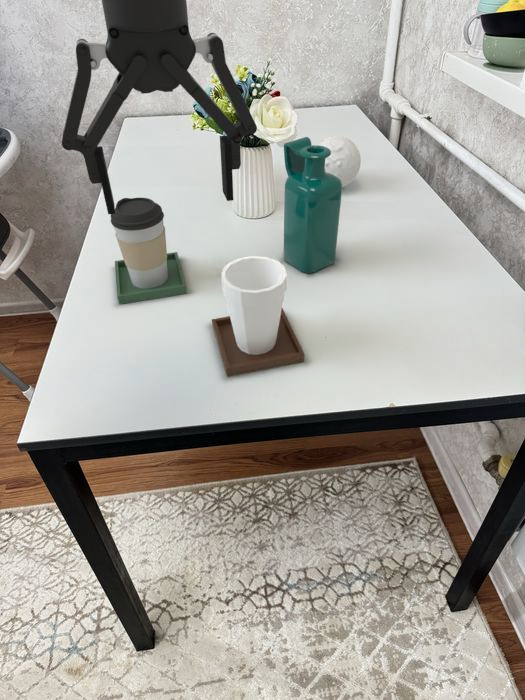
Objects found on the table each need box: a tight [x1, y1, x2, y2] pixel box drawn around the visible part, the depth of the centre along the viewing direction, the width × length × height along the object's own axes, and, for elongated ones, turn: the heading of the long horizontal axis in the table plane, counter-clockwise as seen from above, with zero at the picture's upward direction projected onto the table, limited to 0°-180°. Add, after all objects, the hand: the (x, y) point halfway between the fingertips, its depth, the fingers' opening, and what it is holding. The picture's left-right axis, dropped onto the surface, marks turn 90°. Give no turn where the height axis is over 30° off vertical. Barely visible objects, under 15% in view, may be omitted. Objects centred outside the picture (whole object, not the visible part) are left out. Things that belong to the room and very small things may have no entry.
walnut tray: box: [211, 307, 305, 377], centre depth 79 cm, size 12×12×2 cm
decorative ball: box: [317, 135, 362, 189], centre depth 118 cm, size 12×12×12 cm
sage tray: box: [114, 251, 188, 305], centre depth 93 cm, size 12×12×2 cm
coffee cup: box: [110, 197, 168, 289], centre depth 88 cm, size 9×9×15 cm
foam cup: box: [220, 255, 288, 355], centre depth 75 cm, size 10×9×13 cm
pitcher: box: [283, 136, 343, 274], centre depth 90 cm, size 10×8×22 cm
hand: (171, 202), depth 57 cm, fingers open, 13 cm apart
